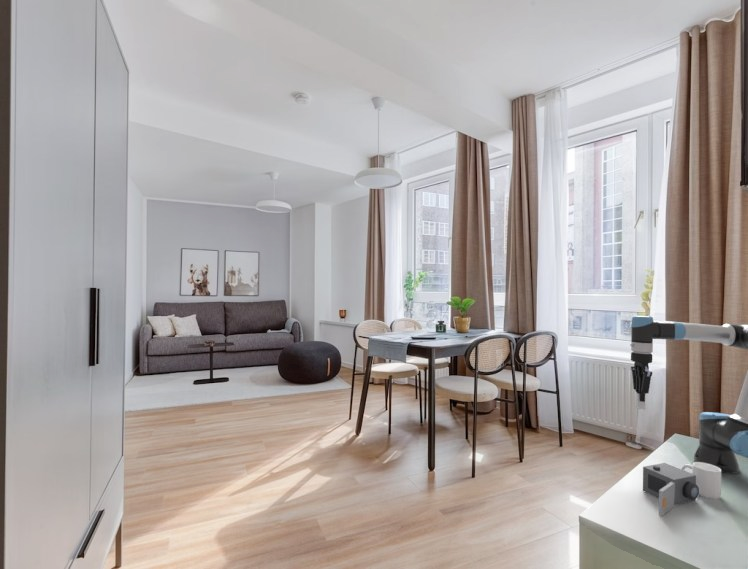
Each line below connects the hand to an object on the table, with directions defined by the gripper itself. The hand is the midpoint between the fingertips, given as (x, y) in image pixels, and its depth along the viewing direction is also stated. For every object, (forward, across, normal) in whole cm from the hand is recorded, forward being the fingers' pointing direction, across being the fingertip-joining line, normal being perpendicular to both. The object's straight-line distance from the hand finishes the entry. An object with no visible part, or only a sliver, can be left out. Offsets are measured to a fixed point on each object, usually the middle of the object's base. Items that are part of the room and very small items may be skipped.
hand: (640, 408), depth 167 cm
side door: (+26, +32, -6) cm, 42 cm away
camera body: (+26, +21, +1) cm, 34 cm away
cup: (+27, +14, +15) cm, 33 cm away
